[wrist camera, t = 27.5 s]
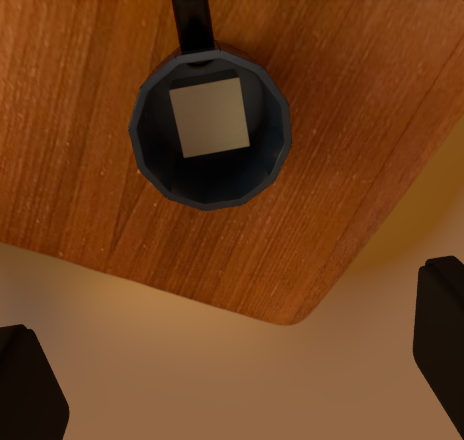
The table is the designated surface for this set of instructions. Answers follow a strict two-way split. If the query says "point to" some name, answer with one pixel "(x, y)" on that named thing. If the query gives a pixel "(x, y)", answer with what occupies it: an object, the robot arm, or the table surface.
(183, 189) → the pot
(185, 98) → the block
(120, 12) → the table surface
